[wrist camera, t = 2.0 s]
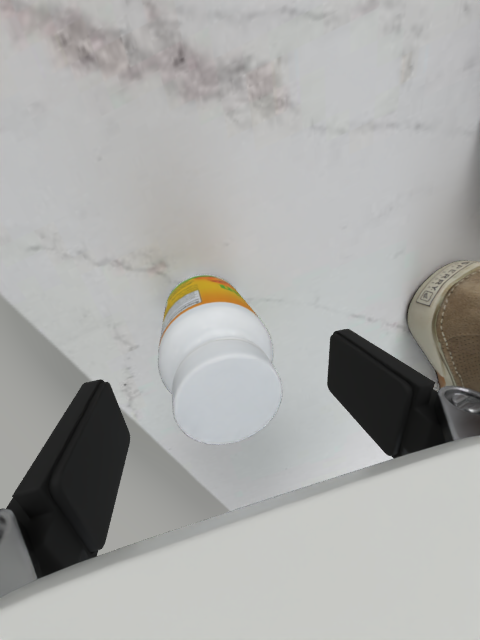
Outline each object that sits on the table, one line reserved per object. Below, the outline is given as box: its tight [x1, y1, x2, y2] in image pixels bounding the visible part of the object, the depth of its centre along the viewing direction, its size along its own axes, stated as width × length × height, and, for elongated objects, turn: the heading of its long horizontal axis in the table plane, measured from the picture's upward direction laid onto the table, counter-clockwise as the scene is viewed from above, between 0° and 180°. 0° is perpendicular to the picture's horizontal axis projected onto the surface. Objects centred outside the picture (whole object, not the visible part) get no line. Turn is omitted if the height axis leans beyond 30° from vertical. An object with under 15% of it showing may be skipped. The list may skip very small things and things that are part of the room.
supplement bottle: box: [158, 274, 282, 445], centre depth 12 cm, size 5×5×10 cm
